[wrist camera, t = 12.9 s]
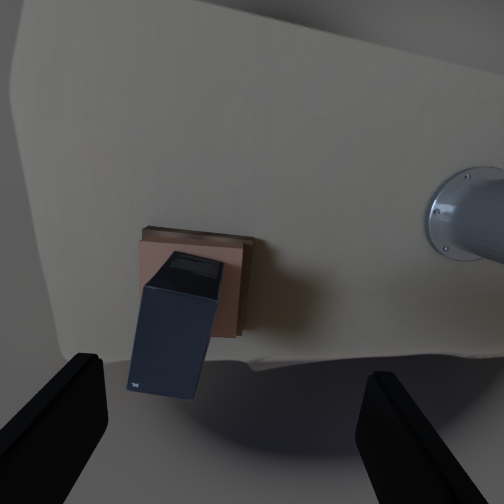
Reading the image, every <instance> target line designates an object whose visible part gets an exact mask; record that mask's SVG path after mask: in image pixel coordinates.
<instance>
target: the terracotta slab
mask: <svg viewBox="0 0 504 504" xmlns="http://www.w3.org/2000/svg"><path fill="white" fill-rule="evenodd" d="M173 251H179V252H183V253H187V254H191V255H195V256H200V257H204V258H208V259H212V260H216V261H220V262H223V263H224V267H223V276H222V283H221V290H220V296H219V302H218V307H217V312H216V317H215V321H214V325H213V330H212V334H211V337H226V338H236V329H237V317H238V305H239V292H240V280H241V268H242V256H243V243H237V242H224V241H211V240H198V239H185V238H172V237H158V236H146V237H145V238H143V239H141V240H140V241H139V266H140V302H141V296H142V290H143V286H144V285H145V284H146V283H147V282H148V281H149V280H150V279H151V278H152V277H153V276H154V275H155V274H156V273H157V271H158V270H159V269H160V268H161V266H162V265H163V264H164V263H165V262H166V261H167V259H168V258H169V257H170V255H171V254H172V252H173Z"/></svg>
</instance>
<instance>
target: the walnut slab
mask: <svg viewBox="0 0 504 504" xmlns="http://www.w3.org/2000/svg"><path fill="white" fill-rule="evenodd" d="M146 236H158V237H172V238H185V239H198V240H211V241H224V242H237V243H243V256H242V268H241V280H240V292H239V305H238V317H237V329H236V336H242V331H243V323H244V315H245V306H246V298H247V290H248V281H249V273H250V265H251V256H252V248H253V237H248V236H239V235H229V234H220V233H211V232H201V231H192V230H182V229H173V228H164V227H154V226H147V227H145V228H143V229H142V239H143V238H145V237H146Z"/></svg>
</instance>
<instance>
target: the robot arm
mask: <svg viewBox="0 0 504 504" xmlns="http://www.w3.org/2000/svg"><path fill="white" fill-rule="evenodd" d="M425 231H426V235H427V238H428V240H429V242H430V244H431V246H432V247H433V248H434V249H435V250H436V251H437V252H438V253H440V254H441V255H443V256H445V257H448V258H450V259H453V260H457V261H474V260H478V259H481V258H487V259H490V260H493V261H496V262H499V263H502V264H504V170H502V169H500V168H495V167H473V168H470V169H466V170H463V171H461V172H459V173H457V174H455V175H453V176H452V177H451V178H449V179H448V180H446V181H445V182H444V183H443V184H442V185H441V186H440V187H439V189H438V190H437V191H436V193H435V194H434V195H433V197H432V199H431V201H430V203H429V205H428V208H427V211H426V216H425ZM107 425H108V410H107V400H106V390H105V380H104V369H103V361H102V359H99V357H98V355H97V354H90V353H78V354H76V355H75V356H74V357H73V358H72V359H71V360H70V361H69V362H68V363H67V364H66V365H65V366H64V367H63V368H62V369H61V370H60V371H59V372H58V373H57V374H56V375H55V376H54V377H53V378H52V379H51V380H50V381H49V382H48V383H47V384H46V385H45V386H44V387H43V388H42V389H41V390H40V391H39V392H38V393H37V394H36V395H35V396H34V397H33V398H32V399H31V400H30V401H29V402H28V403H27V404H26V405H25V406H24V407H23V408H22V409H21V410H20V411H19V412H18V413H17V414H16V415H15V416H14V417H13V418H12V419H11V420H10V421H9V422H8V423H7V424H6V425H5V426H4V427H3V428H2V429H1V430H0V504H63V503H64V501H65V500H66V497H67V496H68V494H69V493H70V491H71V489H72V487H73V486H74V484H75V482H76V481H77V479H78V477H79V475H80V474H81V472H82V470H83V468H84V467H85V465H86V463H87V462H88V460H89V458H90V457H91V455H92V453H93V451H94V450H95V448H96V446H97V444H98V443H99V441H100V439H101V438H102V436H103V434H104V432H105V430H106V428H107ZM355 440H356V445H357V448H358V450H359V453H360V455H361V458H362V460H363V463H364V465H365V468H366V471H367V473H368V476H369V478H370V481H371V483H372V486H373V489H374V491H375V494H376V496H377V499H378V501H379V504H488V502H487V501H486V499H485V498H484V497H483V495H482V494H481V493H480V491H479V490H478V488H477V487H476V486H475V484H474V483H473V482H472V480H471V479H470V477H469V476H468V475H467V473H466V472H465V471H464V469H463V468H462V466H461V465H460V464H459V462H458V461H457V460H456V458H455V457H454V455H453V454H452V453H451V451H450V450H449V449H448V447H447V446H446V445H445V443H444V442H443V440H442V439H441V438H440V436H439V435H438V433H437V432H436V431H435V429H434V428H433V426H432V425H431V424H430V422H429V421H428V420H427V418H426V417H425V416H424V414H423V413H422V411H421V410H420V409H419V407H418V406H417V404H416V403H415V402H414V400H413V399H412V398H411V396H410V395H409V394H408V392H407V391H406V389H405V388H404V387H403V385H402V384H401V382H400V381H399V380H398V378H397V377H396V376H395V374H394V373H392V372H385V371H374V372H373V374H372V375H369V377H368V379H367V384H366V388H365V393H364V397H363V401H362V406H361V410H360V415H359V419H358V424H357V428H356V433H355Z"/></svg>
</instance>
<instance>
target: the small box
mask: <svg viewBox="0 0 504 504" xmlns="http://www.w3.org/2000/svg"><path fill="white" fill-rule="evenodd" d="M223 267H224V263H223V262H220V261H216V260H212V259H208V258H204V257H200V256H195V255H191V254H187V253H183V252H179V251H173V252H172V254H171V255H170V257H169V258H168V259H167V261H166V262H165V263H164V264H163V265H162V266H161V268H160V269H159V270H158V271H157V273H156V274H155V275H154V276H153V277H152V278H151V279H150V280H149V281H148V282H147V283H146V284H145V285H144V286H143V290H142V296H141V302H140V308H139V314H138V319H137V325H136V331H135V337H134V343H133V349H132V355H131V361H130V367H129V373H128V379H127V385H126V389H127V390H128V391H133V392H140V393H146V394H153V395H159V396H165V397H171V398H178V399H185V400H193V398H194V395H195V391H196V388H197V384H198V381H199V377H200V374H201V370H202V367H203V363H204V360H205V356H206V352H207V349H208V345H209V342H210V338H211V334H212V330H213V325H214V321H215V317H216V312H217V307H218V302H219V296H220V290H221V283H222V276H223Z"/></svg>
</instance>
